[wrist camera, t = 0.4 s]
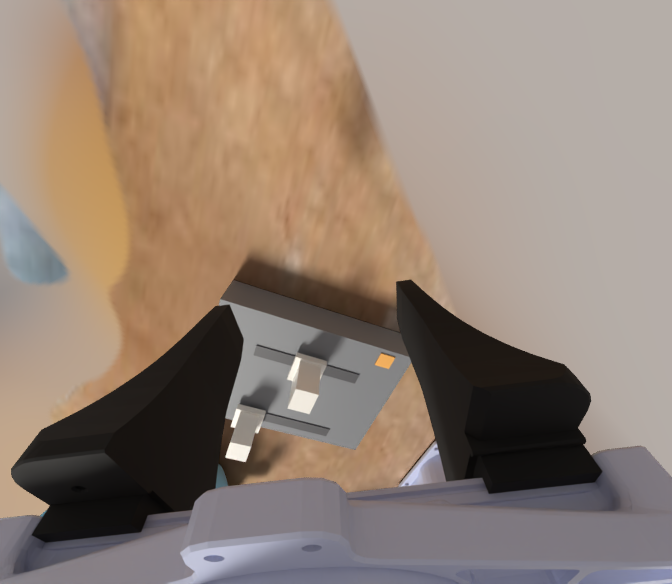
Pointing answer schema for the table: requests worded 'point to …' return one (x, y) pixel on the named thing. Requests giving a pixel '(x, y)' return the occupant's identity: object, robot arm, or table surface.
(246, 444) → the on handle
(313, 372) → the handle
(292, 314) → the slider control panel
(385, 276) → the table surface
